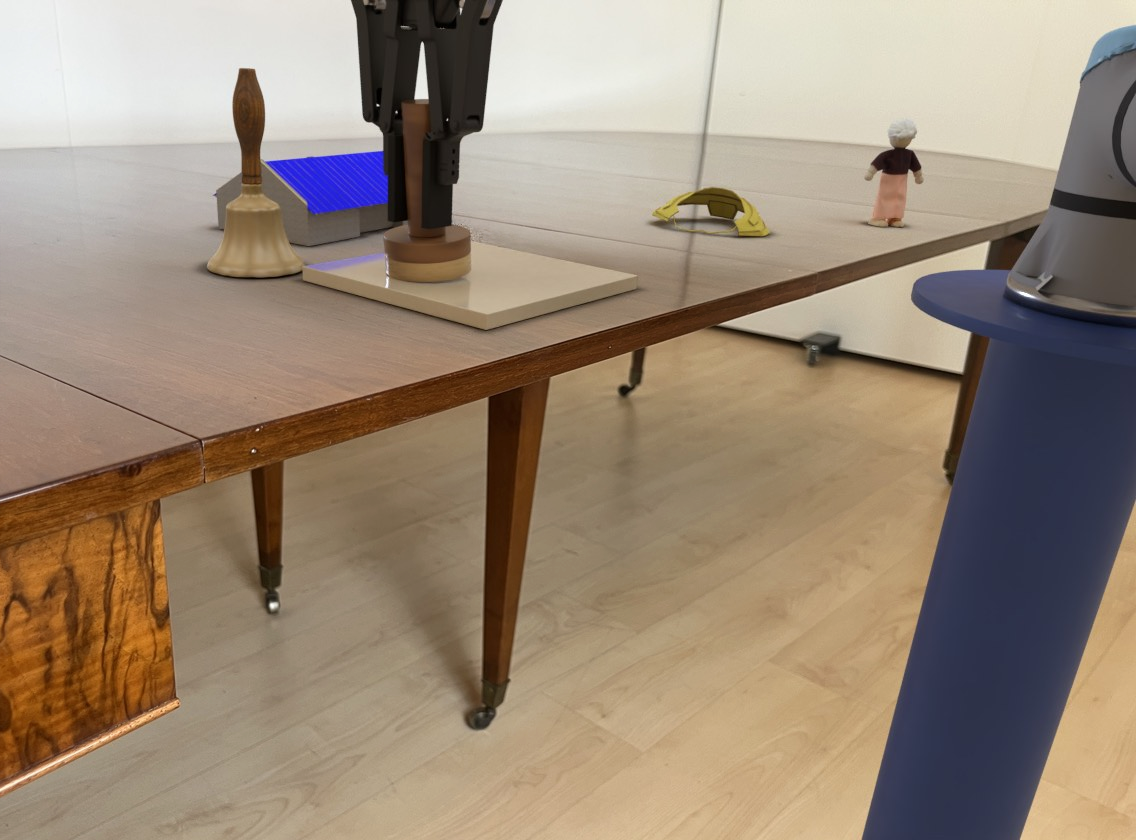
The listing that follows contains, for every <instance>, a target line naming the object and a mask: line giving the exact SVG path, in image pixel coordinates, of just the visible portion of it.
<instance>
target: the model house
mask: <svg viewBox="0 0 1136 840" xmlns="http://www.w3.org/2000/svg"><path fill="white" fill-rule="evenodd" d="M383 156H384V155H383V150H377V151H376V150H375V151H367V152H356V153H355V152H354V153H343V154H342V153H341V154H333V155H322V156H312V155H311V156H306V157H300V158H298V157H297V158H289V159H288V158H287V159H279V160H278V159H277V160H266V161H265V160H264V159H261V158H260V159H261V172H262V174H261V177H262V183H261V184H262V190H263V194H264V195H265V196H266V197H267V198H268V199H270V200H272V201H274V202H276V203H277V204H278V205H279V206H280V210H281V217H282V222H283V227H284V230H285V234H286V237H287V239H288V241H289V243H291V244H296V245H300V246H306V247H311V246H317V245H323V244H327V243H333V242H338V241H344V240H348V239H349V240H350V239H354V238H360V237H361V236H360V235H361V233H366V232H372V231H376V230H377V231H379V230H382V229H383V230H384V229H388V228H395V227H399V226H404V225H408V221H401V222H390V221H388V176H386V175H385V174H384V170H383V161H384V160H383ZM242 176H243V175H242V172H241V171H240V172H239V173H238V174H237V175H236V176H234V177H233V178H231V179H230V180H228V181H227V182H226V183H224V184H223V185H222V186H221V187H218V188H217V189H216V190H215V193H214V194H212V197H215V198H216V210H217V224H218V225H217V226H218V229H219V230H224V229H225V221H226V206H227V204H228V203H230V202H232V201H233V200H235V199H236V198H238V197H239V196H240V195H241V193H242V181H241V177H242Z"/></svg>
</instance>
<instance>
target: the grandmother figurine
mask: <svg viewBox="0 0 1136 840" xmlns="http://www.w3.org/2000/svg"><path fill="white" fill-rule="evenodd" d="M886 132H887V137H888V139H889V145H890V146H891V147H892V149H888V150H884V151H882V152H880V153H879V154H878V155H877V156H876V157H875V158H874V159H873V160H872V161H871V162H870V164H869V165H870V166H869V167H868V169H867V171H866V173H865V174H863V179H864V180H865V181H867V182H871V181H872V180H873V179H874V176H875V175H876V174H877V172H881V174H880V178H879V183H878V190H877V193H876V194H877V195H876V198H875V201H874V206H873V210H872V214H871V215H872V218H870V219H869V220H868V222H867V224H868V225H871V226H875V227H879V228H880V227H881V228H888V227H889V226H891V227H897V228H903V227H904V225H905V224H904V222H903V219H904V217H905V210H906V205H907V194H908V193H907V192H908V176H909V171H910V172H912V175H913V177H914V183H915V184H917V185H921V184H923V183H924V180H925V178H924V177H923V170H922V165H921V163H920V161H919V158H918V157H917V154H916V153H915V152H914V150H912V149H908V148H907V147H908V146H910V144H911V143H912V141H913V140H914V139H916V135H917V134H918V130H917V127H916V123H915V122H914V120H913V119H910V118H907V117H902V118H899V119H896V120H894V121H892V122H891V124H890V125H889V127H888V128H887V131H886Z"/></svg>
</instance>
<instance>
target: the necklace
mask: <svg viewBox="0 0 1136 840" xmlns="http://www.w3.org/2000/svg"><path fill="white" fill-rule="evenodd" d="M690 205H693V206H706V207H707V211H708V214H709V216H710V217H716V218H721V219H727V220H731V221H733V223H734V225H735V226H734V227H733V228H732V229H730V230H720V231H711V232H710V231H707V230H704V229H694V230H692V229H685V228H681V227H679V226H677V223H676V218H675V215H676V214H678V213H679V212H680V210H679V208H678V207H681V206H690ZM738 212H740V213H741V214H742V213H743V214H744V215H743V217H741V218H739V219H736V220H735V218H736V216H737V215H738ZM651 216H653V217H655V218H658V219H660V220H663V221H665V222H670V220H671V218H672V217H673V224H674V226H675V228H676V229H678V230H680V231H685V232H691V233H697V232H698V233H699V232H703V233H704V234H705V233H706V234H708V235H713V234H714V235H715V234H726V233H727V234H728V233H731V232H733V231H734V230H735V229H737V233H738V234H737V235H738V236H743V237H744V236H746V237H765V236H767V235H769V234H771V232H770V230H769V229H768V226H767V225H766V223H765V221H764V220H763V219H762V218H761V215H760V213H759V212H758V210H757V208H756V207H755V206H754V205H753V204H751V202H749V201H748V200H747V199H746V198H744V197H741V196H740V195H738V193H736V192H735V191H734V190H731V189H728V188H724V187H716V186H710V187H704V188H702V189H699V190H694V191H688V192H686V193H682V194H680V195H677V196H674V197H673V198H672V199H670V200H669V201H667V202H666V204H665V205H662V206H660V207H658V208H657V209H655V210H653V211H652V213H651Z"/></svg>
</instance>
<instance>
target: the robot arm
mask: <svg viewBox="0 0 1136 840" xmlns="http://www.w3.org/2000/svg"><path fill="white" fill-rule="evenodd" d="M503 1H504V0H350V3H351V5H352V6H351V7H352V9H353V13H354V15H355V20H356V35H357V37H356V38H357V50H358V51H357V53H358V65H359V66H358V67H359V81H360V98H361V112H362V113H361V115H362V118H363V120H364V121H365V123H368V124H369V123H372V124H373V125H375V126H376V127H378V128H379V129H378V130H379V131H380V132H381V133H382V141H383V142H382V151H383V155H384V156H383V160H384V161H383V170H384V174H385V175H386V176H388V221H390V222H401V221H408V217H407V199H406V180H405V162H404V144H403V126H402V107H401V102H402V101H405V100H413V99H416V91H417V81H418V73H419V66H420V65H419V64H420V55H421V48H422V43H423V50H424V51H423V53H424V63H425V73H426V86H427V88H426V89H427V96H428V98H427V99H429V111H430V123H431V132H428V133H425V137H426V139H428V140H423V158H422V220H421V228H424V229H434V228H440V227H447V226H452V225H453V197H454V196H453V191H454V190H453V189H454V185H457V184H458V181H459V178H460V160H461V159H460V157H461V142H462V140H463V138H464V137H466V136H469V135H471V134H473V133H480V132H481V131H482V130H483V127H484V121H485V111H486V102H487V93H488V83H489V74H490V66H491V65H490V64H491V55H492V54H491V53H492V45H493V37H494V25H495V23H496V20H497V17H498V14H499V12H500V9H501V7H502V5H503ZM1010 270H1011V272H1010V273H1009V274H1008V278H1007V282H1006V286H1005V290H1004V294H1003V295H1004V297H1005V298H1006V299H1007V300H1009V301H1010V302H1012V303H1014V304H1016V305H1019V306H1021V307H1024V308H1027V309H1030V310H1033V311H1036V312H1040V313H1043V314H1047V315H1051V316H1055V317H1060V318H1065V319H1069V320H1075V321H1080V322H1086V323H1092V324H1099V325H1106V326H1114V327H1124V328H1136V24H1131V25H1126V26H1123V27H1119V28H1116V29H1113V30H1110V31H1109V32H1105V34H1103V35H1102V36H1100V38H1098V39H1097V41H1096V42H1095V43H1094V44H1093V47H1092V48H1091V52H1090V54H1089V57H1088V60H1087V63H1086V66H1085V67H1084V70H1083V71H1082V72H1081V75H1080V79H1079V89H1078V93H1077V97H1076V101H1075V104H1074V108H1073V113H1072V116H1071V120H1070V124H1069V128H1068V131H1067V136H1066V139H1065V144H1064V148H1063V151H1062V155H1061V159H1060V163H1059V167H1058V171H1057V173H1056V177H1055V182H1054V186H1053V190H1052V194H1051V198H1050V200H1049V205H1048V208H1047V212H1046V214H1045V215H1044V218H1043V220H1042V221H1041V223H1040V224H1039V226H1038V227H1037V229H1036V231H1035V232H1034V233H1033V235H1032V237H1031V238H1030V240H1029V241H1028V242H1027V245H1026V246H1025V248H1024V249H1023V251H1022V252H1021V254H1020V256H1019V257H1018V258H1017V261H1016V262H1015V264H1014V265H1013V266H1012V269H1010Z"/></svg>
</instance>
